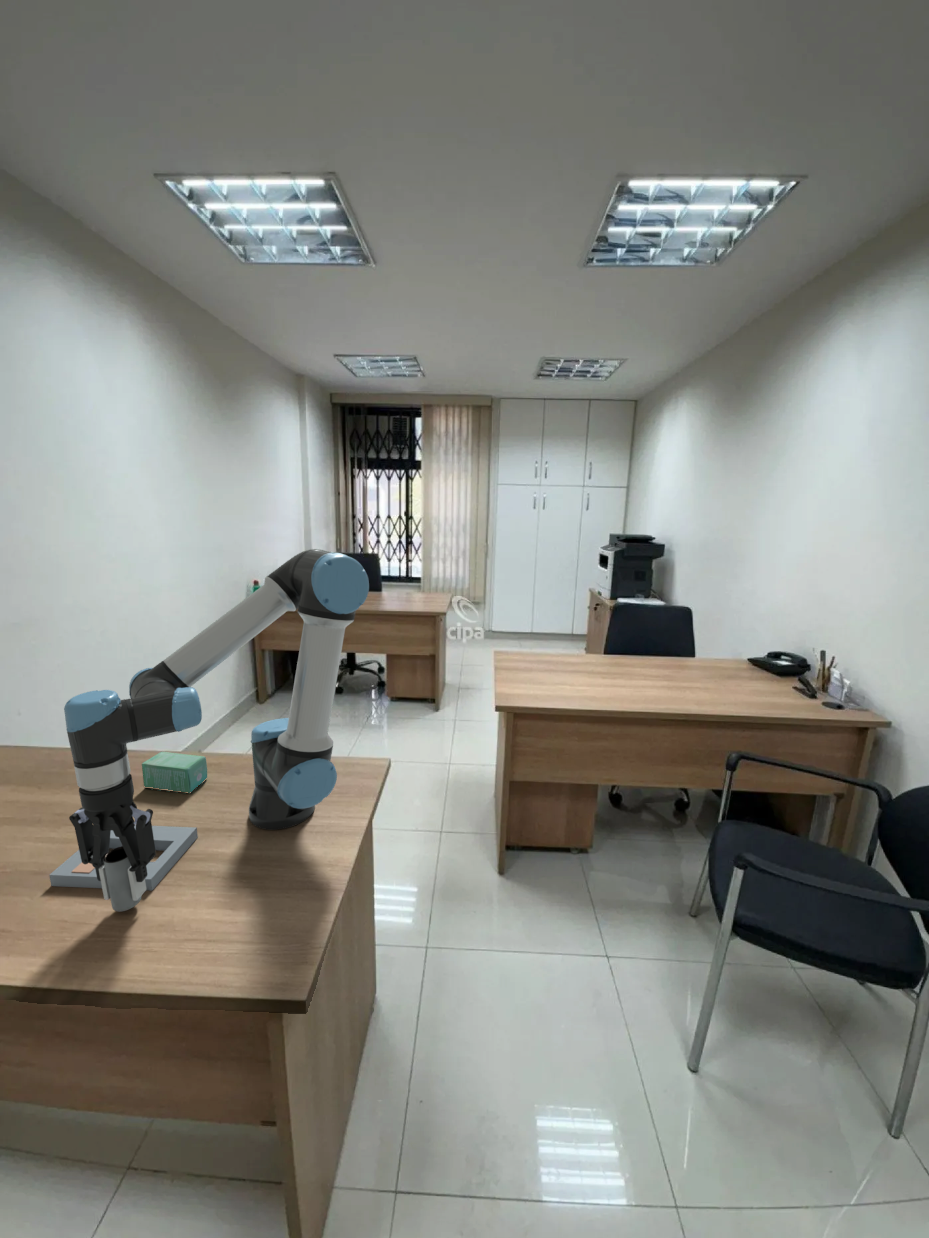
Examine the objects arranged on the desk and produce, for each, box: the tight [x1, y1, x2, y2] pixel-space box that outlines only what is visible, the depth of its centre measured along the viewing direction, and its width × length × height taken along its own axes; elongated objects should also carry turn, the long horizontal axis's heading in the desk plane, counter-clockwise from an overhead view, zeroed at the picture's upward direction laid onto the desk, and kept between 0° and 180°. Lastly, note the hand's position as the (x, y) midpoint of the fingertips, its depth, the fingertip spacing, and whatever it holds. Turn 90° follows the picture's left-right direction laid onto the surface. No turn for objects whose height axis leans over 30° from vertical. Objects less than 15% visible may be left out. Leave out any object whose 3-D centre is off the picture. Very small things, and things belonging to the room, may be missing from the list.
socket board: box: [48, 825, 199, 891], centre depth 105 cm, size 20×16×3 cm
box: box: [141, 750, 208, 793], centre depth 133 cm, size 7×14×8 cm, turn 82°
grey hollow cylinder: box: [103, 846, 142, 912], centre depth 91 cm, size 4×4×10 cm
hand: (125, 894), depth 92 cm, fingers closed on grey hollow cylinder, 4 cm apart
